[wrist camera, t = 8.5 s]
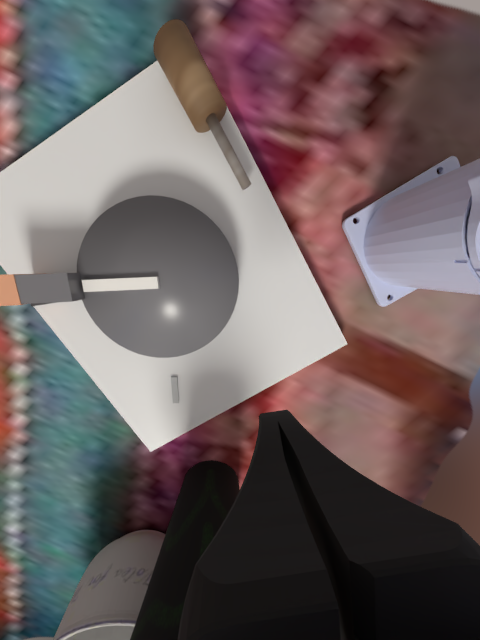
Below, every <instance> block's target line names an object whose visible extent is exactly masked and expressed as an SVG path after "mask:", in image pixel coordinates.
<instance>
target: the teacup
mask: <svg viewBox="0 0 480 640" xmlns="http://www.w3.org/2000/svg"><path fill="white" fill-rule="evenodd" d="M165 535H166V534H164V533H162V532H159V531H155V530H139V531H134V532H131V533H129V534H126V535H124V536H123V537H121V538H119V539H117V540H115V541H113V542H111V543H110V544H108V545H107V546H106V547H104V548H103V549H102V550H101V551H100V552H99V553H98V554H97V555H96V556H95V557H94V559H93V560H92V561H91V563H90V564H89V566H88V567H87V569H86V571H85V573H84V574H83V576H82V578H81V580H80V582H79V584H78V586H77V588H76V590H75V593H74V595H73V597H72V599H71V601H70V603H69V605H68V608H67V610H66V612H65V614H64V616H63V619H62V621H61V623H60V625H59V628H58V630H57V632H56V635H55V637H54V639H53V640H130V638H131V635H132V632H133V629H134V627H135V624H136V621H137V618H138V615H139V612H140V609H141V606H142V603H143V600H144V597H145V594H146V591H147V588H148V585H149V582H150V579H151V576H152V573H153V570H154V567H155V564H156V561H157V558H158V555H159V552H160V549H161V546H162V543H163V541H164V538H165Z"/></svg>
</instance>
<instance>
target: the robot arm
mask: <svg viewBox="0 0 480 640" xmlns="http://www.w3.org/2000/svg"><path fill="white" fill-rule="evenodd" d="M437 169H438V170H439V174H437ZM354 218H356V219H357V223H356V224H354V223H353V219H354ZM342 228H343V230H344V232H345V234H346V237H347V239H348V241H349V243H350V245H351V247H352V250H353V252H354V254H355V256H356V258H357V261H358V263H359V265H360V267H361V269H362V272H363V274H364V276H365V278H366V280H367V282H368V285H369V287H370V289H371V291H372V293H373V296H374V298H375V300H376V302H377V304H378V305H380V306H387V305H389V304H391V303H392V302H394V301H396V300H398V299H400V298H401V297H403V296H405V295H407V294H409V293H410V292H412V291H414V290H416V289H418V288H420V289H430V290H439V291H448V292H458V293H467V294H477V295H480V158H479V159H477V160H475V161H473V162H470V163H468V164H466V165H464V166H461V167H460V164H459V161H458V159H457V157H455V156H451V157H449V158H447V159H445V160H443V161H442V162H440V163H438V164H437V165H435V166H433V167H432V168H430V169H428V170H427V171H425V172H423V173H422V174H420V175H418V176H417V177H415V178H413V179H412V180H410V181H408V182H407V183H405V184H403V185H402V186H400V187H398V188H397V189H395V190H393V191H392V192H390V193H388V194H386V195H385V196H383V197H381V198H380V199H378V200H376V201H375V202H373V203H371V204H370V205H368V206H366V207H365V208H363V209H361V210H360V211H358V212H356V213H355V214H353V215H351V216H350V217H348V218H346V219H345V220H344V221H343V223H342ZM388 295H390V299H389V300H388V299H387V297H388ZM178 640H480V546H479V545H478V544H477V543H476V542H475V541H474V540H473V539H472V538H471V537H470V536H469V535H468V534H467V533H466V532H465V531H464V530H463V529H462V528H461V527H460V526H459V525H458V524H457V523H455V522H453V521H450V520H448V519H446V518H444V517H442V516H439V515H437V514H435V513H433V512H431V511H428V510H426V509H424V508H422V507H420V506H417V505H415V504H413V503H411V502H409V501H408V500H406V499H404V498H402V497H400V496H398V495H396V494H394V493H392V492H390V491H389V490H387V489H385V488H383V487H381V486H380V485H378V484H376V483H375V482H373V481H372V480H370V479H368V478H367V477H365V476H363V475H362V474H360V473H359V472H357V471H356V470H354V469H353V468H351V467H350V466H348V465H347V464H346V463H344V462H343V461H342V460H340V459H339V458H338V457H336V456H335V455H334V454H333V453H331V452H330V451H329V450H328V449H327V448H325V447H324V446H323V445H322V444H321V443H320V442H319V441H317V440H316V439H315V438H314V437H313V436H312V435H311V434H310V433H309V432H308V431H307V430H306V429H305V428H304V427H303V426H302V425H301V424H300V423H299V422H298V421H297V420H296V419H295V417H294V416H293V415H292V414H291V413H290V412H289V411H288V410H282V411H276V412H269V413H262V414H260V416H259V431H258V437H257V441H256V446H255V450H254V453H253V457H252V460H251V463H250V466H249V469H248V472H247V474H246V477H245V479H244V482H243V484H242V487H241V489H240V491H239V493H238V495H237V497H236V499H235V501H234V503H233V505H232V507H231V509H230V511H229V513H228V514H227V516H226V518H225V520H224V521H223V523H222V525H221V527H220V528H219V530H218V532H217V533H216V535H215V537H214V538H213V540H212V541H211V543H210V544H209V545H208V547H207V548H206V550H205V551H204V553H203V554H202V556H201V557H200V559H199V560H198V562H197V563H196V565H195V568H194V571H193V574H192V577H191V580H190V584H189V587H188V591H187V595H186V598H185V602H184V607H183V611H182V616H181V621H180V627H179V634H178Z"/></svg>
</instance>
